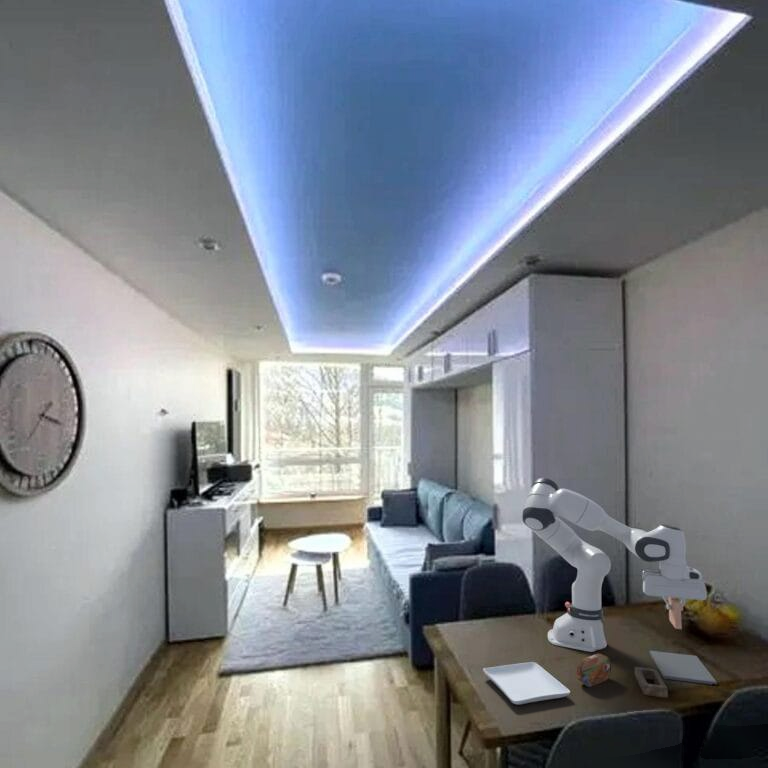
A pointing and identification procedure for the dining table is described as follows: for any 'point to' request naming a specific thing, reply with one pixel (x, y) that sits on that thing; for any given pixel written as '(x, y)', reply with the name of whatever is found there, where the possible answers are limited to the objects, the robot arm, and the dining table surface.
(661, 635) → the dining table surface
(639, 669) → the brown flat hollow block
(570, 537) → the robot arm
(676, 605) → the pink flat slab
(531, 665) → the salad plate
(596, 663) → the tin
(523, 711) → the dining table surface
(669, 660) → the rubber mat
